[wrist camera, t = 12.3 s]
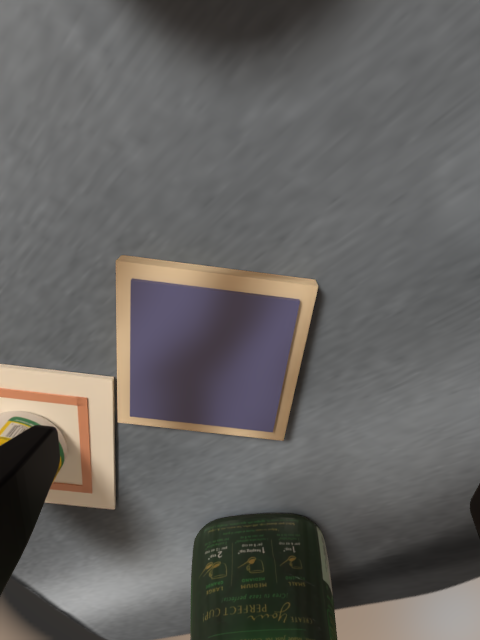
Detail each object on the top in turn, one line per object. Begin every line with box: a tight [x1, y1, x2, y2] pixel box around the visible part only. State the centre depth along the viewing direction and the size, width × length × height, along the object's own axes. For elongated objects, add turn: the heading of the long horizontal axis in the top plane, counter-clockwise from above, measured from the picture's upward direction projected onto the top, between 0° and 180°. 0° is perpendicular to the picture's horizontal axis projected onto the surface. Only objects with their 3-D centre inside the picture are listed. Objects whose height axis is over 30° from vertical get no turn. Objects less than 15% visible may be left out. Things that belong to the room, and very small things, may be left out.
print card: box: [0, 364, 116, 510], centre depth 25 cm, size 11×11×1 cm
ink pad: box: [116, 255, 318, 441], centre depth 21 cm, size 10×10×1 cm
